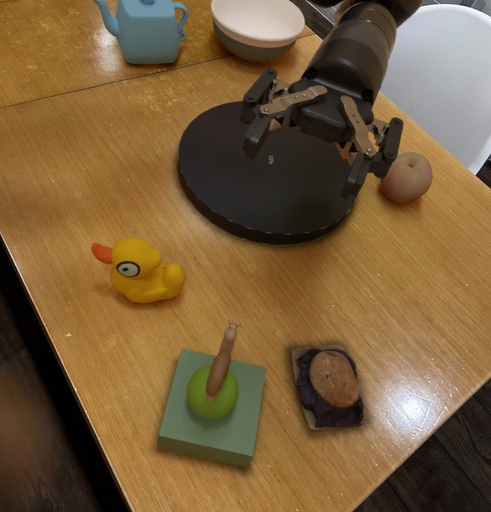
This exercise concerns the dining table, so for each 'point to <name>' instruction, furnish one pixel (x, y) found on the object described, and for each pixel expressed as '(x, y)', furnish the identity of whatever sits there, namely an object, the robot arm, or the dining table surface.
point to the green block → (213, 430)
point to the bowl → (257, 27)
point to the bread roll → (327, 387)
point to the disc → (262, 180)
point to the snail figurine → (215, 382)
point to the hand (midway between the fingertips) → (298, 171)
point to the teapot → (146, 29)
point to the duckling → (140, 270)
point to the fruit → (407, 178)
